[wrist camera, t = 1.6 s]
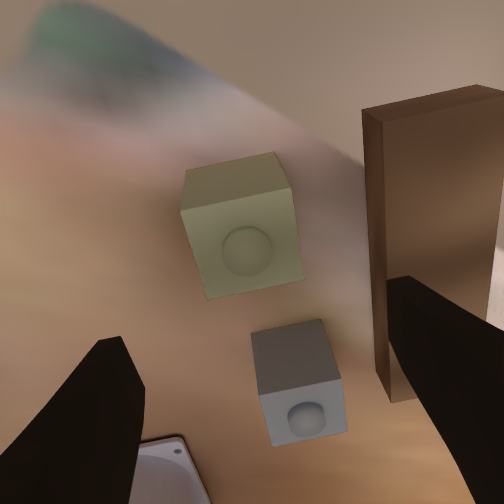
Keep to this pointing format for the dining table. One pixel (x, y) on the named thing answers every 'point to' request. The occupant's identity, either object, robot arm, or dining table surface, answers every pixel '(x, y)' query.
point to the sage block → (242, 225)
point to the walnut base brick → (432, 203)
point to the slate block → (298, 383)
